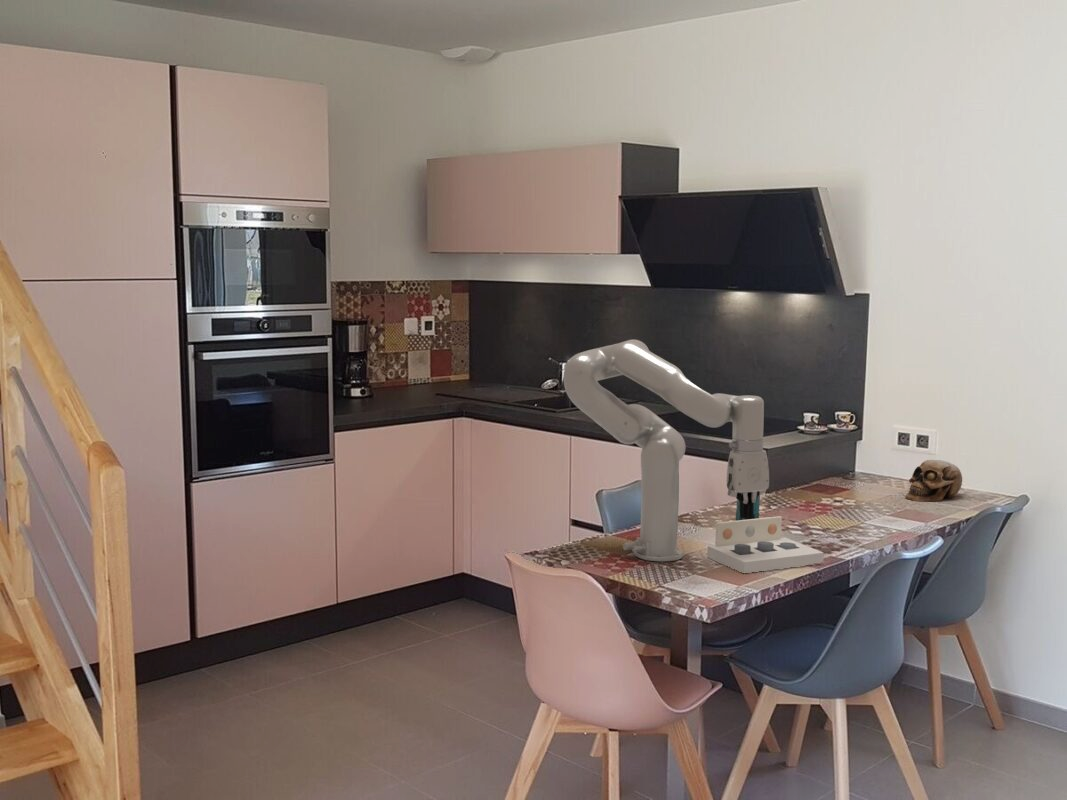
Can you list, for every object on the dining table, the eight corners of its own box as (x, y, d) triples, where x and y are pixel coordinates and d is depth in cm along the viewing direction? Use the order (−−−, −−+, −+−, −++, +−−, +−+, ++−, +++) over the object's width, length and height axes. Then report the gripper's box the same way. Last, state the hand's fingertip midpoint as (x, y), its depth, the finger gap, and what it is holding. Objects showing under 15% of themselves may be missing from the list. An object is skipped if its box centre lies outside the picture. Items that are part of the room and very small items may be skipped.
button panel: (743, 574, 261) (745, 538, 260) (707, 557, 275) (708, 523, 274) (823, 564, 271) (825, 529, 269) (783, 548, 285) (785, 515, 284)
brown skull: (903, 499, 347) (908, 458, 346) (912, 495, 362) (917, 455, 361) (954, 506, 339) (959, 465, 339) (961, 502, 354) (966, 462, 354)
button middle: (763, 557, 270) (763, 546, 270) (753, 553, 274) (754, 542, 273) (776, 556, 272) (776, 544, 271) (766, 552, 275) (767, 540, 275)
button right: (785, 558, 273) (786, 547, 273) (776, 554, 277) (776, 543, 276) (798, 557, 275) (799, 545, 274) (788, 553, 278) (789, 541, 278)
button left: (740, 560, 267) (740, 548, 267) (730, 556, 271) (731, 544, 270) (753, 559, 269) (753, 547, 268) (744, 554, 272) (744, 543, 272)
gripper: (731, 450, 260) (730, 524, 262) (781, 445, 266) (780, 518, 268) (713, 445, 266) (712, 518, 269) (763, 441, 272) (762, 512, 275)
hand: (746, 517), depth 268 cm, fingers closed
